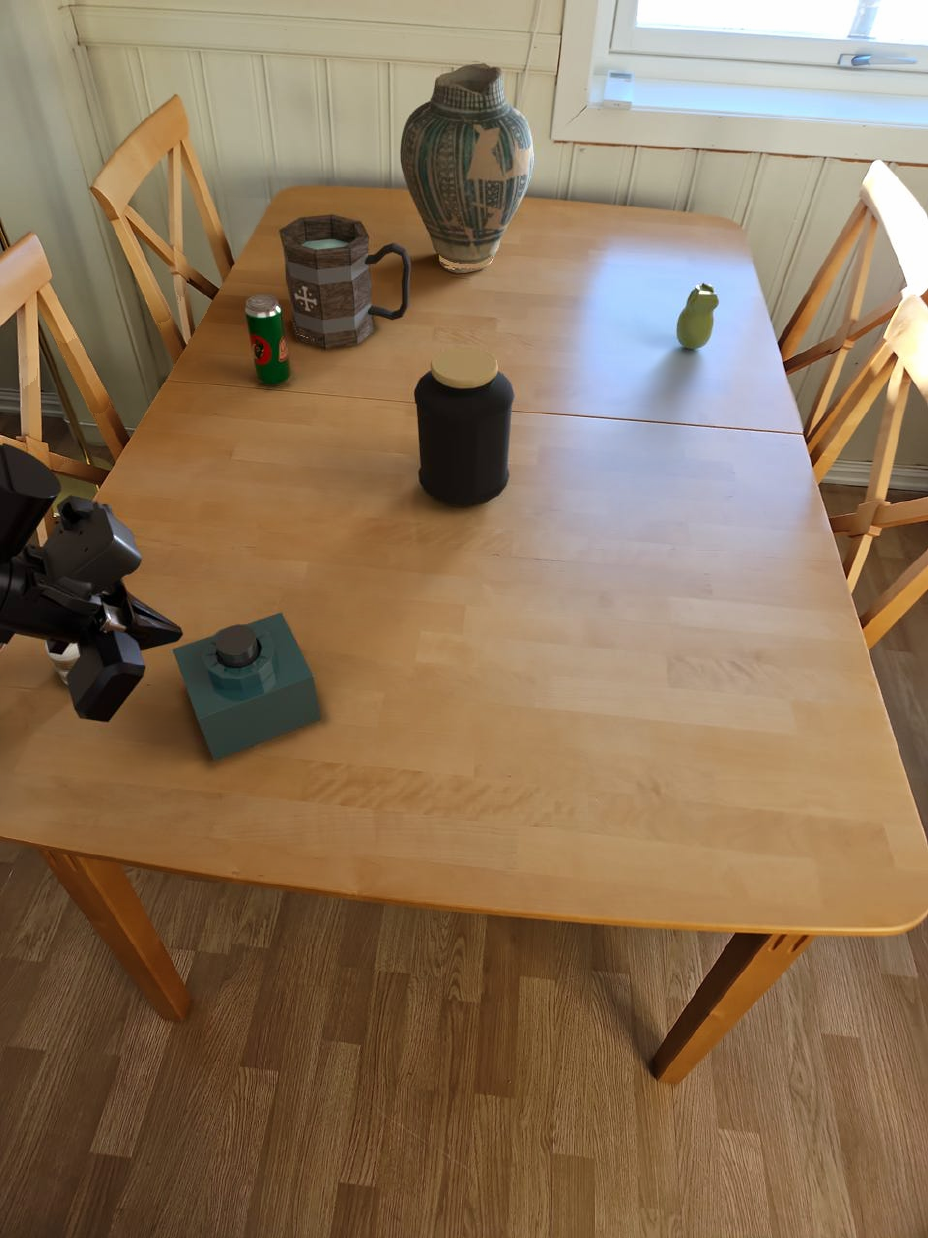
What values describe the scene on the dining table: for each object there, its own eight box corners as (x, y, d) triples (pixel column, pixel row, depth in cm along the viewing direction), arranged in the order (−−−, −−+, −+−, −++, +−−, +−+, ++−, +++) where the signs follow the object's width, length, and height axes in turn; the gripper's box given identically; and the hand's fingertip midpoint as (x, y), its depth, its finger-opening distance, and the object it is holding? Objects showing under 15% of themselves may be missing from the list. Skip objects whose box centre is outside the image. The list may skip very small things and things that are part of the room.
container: (407, 463, 110) (403, 340, 96) (493, 451, 112) (501, 330, 99) (427, 523, 102) (425, 398, 89) (519, 509, 104) (531, 385, 91)
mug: (282, 346, 128) (267, 250, 117) (300, 303, 137) (288, 211, 126) (406, 354, 128) (404, 259, 117) (417, 311, 137) (415, 219, 126)
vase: (541, 248, 154) (560, 60, 131) (499, 301, 140) (512, 102, 117) (432, 225, 159) (432, 41, 136) (382, 274, 145) (372, 78, 122)
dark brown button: (226, 673, 75) (221, 659, 74) (215, 646, 77) (210, 632, 76) (264, 660, 76) (260, 646, 75) (252, 633, 78) (248, 619, 77)
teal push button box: (213, 761, 79) (193, 707, 72) (188, 693, 84) (167, 637, 77) (321, 719, 82) (311, 664, 76) (291, 656, 88) (279, 599, 81)
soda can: (292, 386, 121) (280, 309, 112) (257, 388, 121) (242, 311, 112) (291, 367, 125) (280, 291, 116) (257, 369, 124) (243, 293, 115)
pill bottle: (63, 693, 84) (36, 645, 78) (60, 662, 86) (33, 613, 81) (108, 681, 85) (84, 633, 79) (104, 650, 87) (80, 601, 82)
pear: (701, 337, 134) (717, 277, 126) (712, 354, 130) (729, 294, 123) (668, 338, 133) (682, 278, 126) (678, 355, 130) (693, 295, 122)
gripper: (70, 594, 52) (266, 644, 64) (26, 434, 63) (200, 502, 75) (-11, 711, 55) (189, 738, 67) (-40, 540, 66) (137, 590, 78)
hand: (179, 634), depth 72 cm, fingers closed
